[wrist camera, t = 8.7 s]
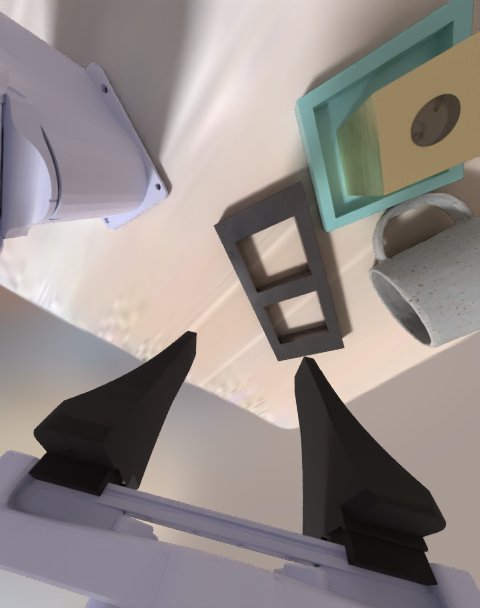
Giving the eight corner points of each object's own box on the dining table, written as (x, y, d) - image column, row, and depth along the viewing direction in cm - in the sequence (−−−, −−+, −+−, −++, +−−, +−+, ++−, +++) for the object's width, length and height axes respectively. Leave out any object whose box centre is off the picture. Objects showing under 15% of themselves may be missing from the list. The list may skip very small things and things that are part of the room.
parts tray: (294, 109, 14) (297, 100, 12) (449, 11, 11) (474, -15, 9) (323, 229, 17) (327, 232, 16) (444, 179, 14) (462, 178, 13)
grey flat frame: (217, 223, 19) (213, 225, 17) (298, 182, 16) (301, 181, 15) (278, 353, 26) (278, 361, 24) (340, 339, 23) (344, 348, 22)
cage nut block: (347, 195, 16) (385, 195, 10) (336, 131, 14) (375, 91, 9) (412, 166, 14) (494, 149, 9) (409, 90, 12) (510, 12, 7)
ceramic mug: (484, 272, 17) (617, 317, 11) (387, 314, 21) (441, 369, 14) (448, 164, 14) (601, 133, 8) (341, 235, 18) (382, 256, 11)
